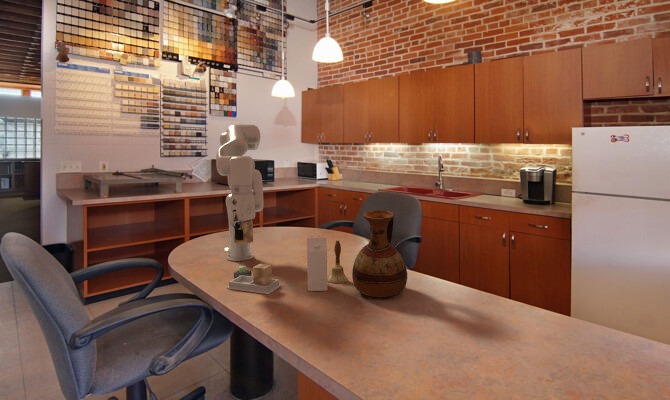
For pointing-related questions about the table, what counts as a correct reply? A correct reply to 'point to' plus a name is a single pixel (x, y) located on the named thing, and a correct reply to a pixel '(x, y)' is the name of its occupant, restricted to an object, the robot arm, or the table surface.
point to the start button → (242, 269)
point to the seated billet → (262, 274)
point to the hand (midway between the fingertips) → (243, 237)
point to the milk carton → (317, 264)
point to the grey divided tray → (252, 285)
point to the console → (247, 273)
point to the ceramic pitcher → (379, 259)
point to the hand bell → (337, 268)
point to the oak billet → (246, 233)
